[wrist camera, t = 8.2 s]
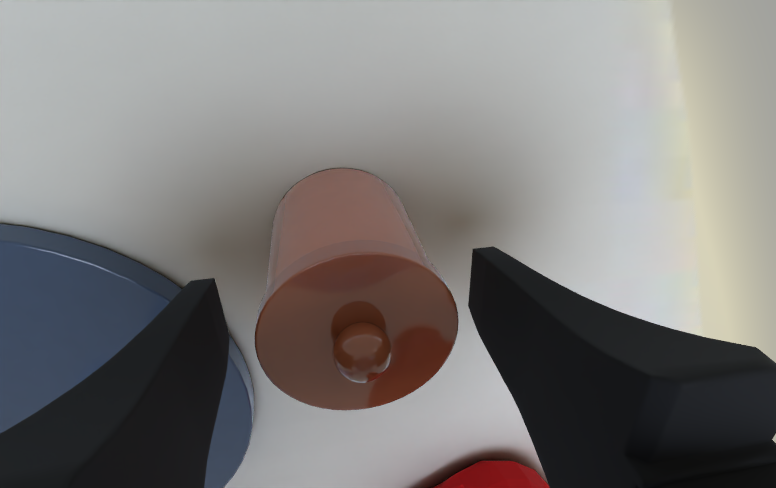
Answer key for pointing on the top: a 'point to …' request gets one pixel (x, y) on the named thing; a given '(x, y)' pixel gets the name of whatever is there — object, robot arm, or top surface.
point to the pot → (350, 296)
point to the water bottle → (495, 476)
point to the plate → (92, 331)
